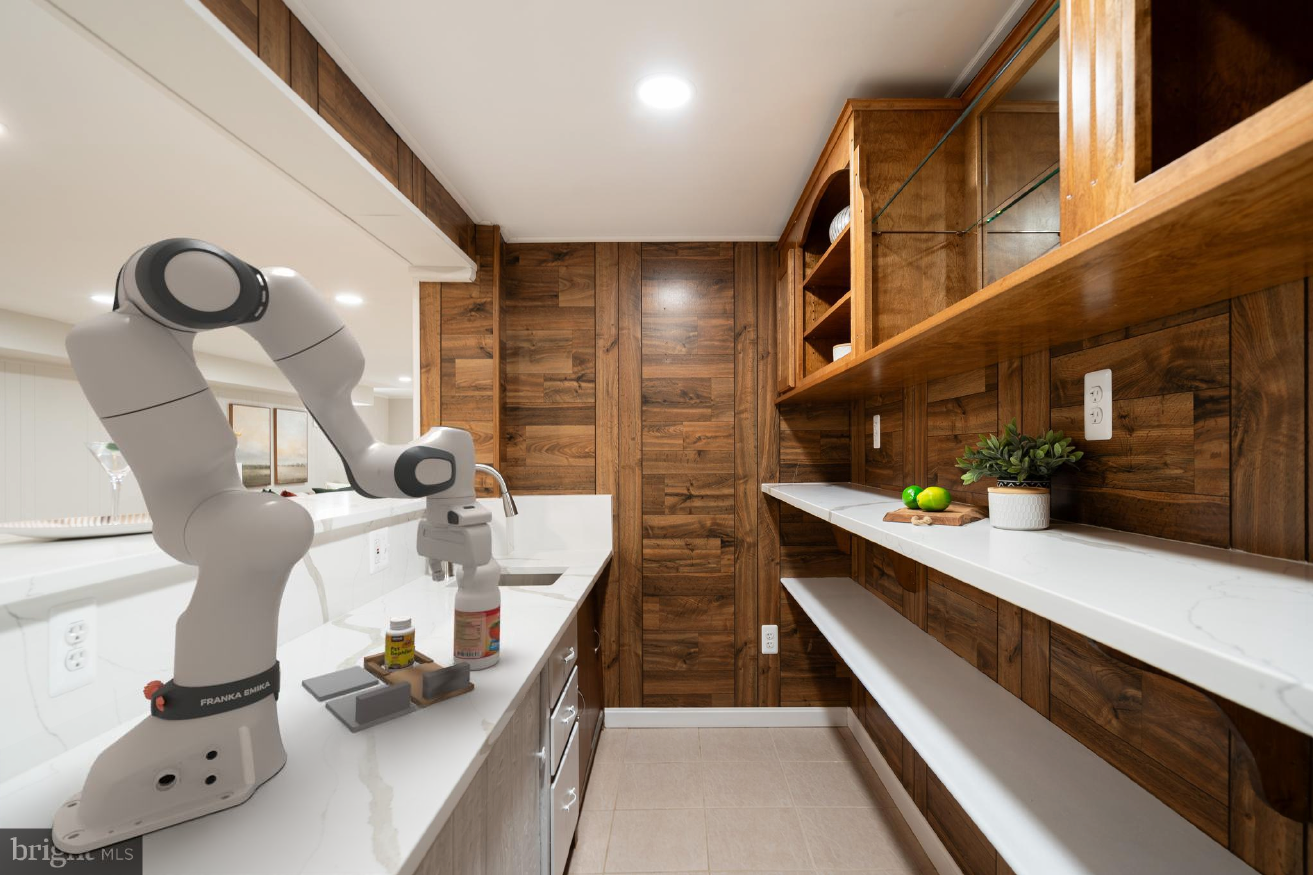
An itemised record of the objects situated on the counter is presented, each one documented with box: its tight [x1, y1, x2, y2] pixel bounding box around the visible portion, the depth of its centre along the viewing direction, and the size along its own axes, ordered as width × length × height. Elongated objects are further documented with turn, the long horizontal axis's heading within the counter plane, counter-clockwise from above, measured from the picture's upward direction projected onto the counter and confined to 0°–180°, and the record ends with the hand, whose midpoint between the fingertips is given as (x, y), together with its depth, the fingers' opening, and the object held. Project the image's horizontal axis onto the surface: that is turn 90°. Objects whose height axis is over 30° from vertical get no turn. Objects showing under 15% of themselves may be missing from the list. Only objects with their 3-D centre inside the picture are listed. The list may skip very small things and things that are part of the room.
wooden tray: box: [363, 645, 475, 708], centre depth 104 cm, size 10×26×5 cm, turn 49°
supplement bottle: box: [383, 615, 416, 673], centre depth 109 cm, size 6×6×10 cm
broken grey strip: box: [301, 665, 417, 734], centre depth 96 cm, size 10×26×5 cm, turn 49°
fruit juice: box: [453, 553, 502, 671], centre depth 113 cm, size 9×9×28 cm
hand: (452, 584), depth 99 cm, fingers open, 8 cm apart
